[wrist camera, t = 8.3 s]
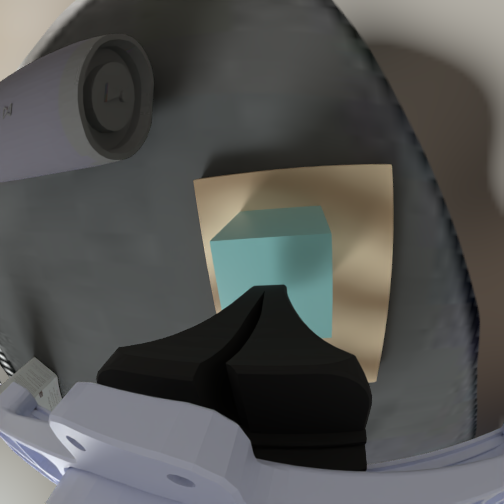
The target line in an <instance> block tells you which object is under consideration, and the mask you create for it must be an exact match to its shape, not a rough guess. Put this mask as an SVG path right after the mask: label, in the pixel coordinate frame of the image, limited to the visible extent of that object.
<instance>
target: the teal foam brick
mask: <svg viewBox="0 0 504 504" xmlns="http://www.w3.org/2000/svg"><path fill="white" fill-rule="evenodd" d="M210 247H211V253H212V259H213V265H214V271H215V276H216V282H217V287H218V293H219V298H220V304H221V309H222V310H223V309H224V308H226V307H227V306H229V305H230V304H231V303H233V302H234V301H235V300H236V299H238V298H239V297H240V296H241V295H243V294H244V293H245V292H246V291H247V290H249V289H250V288H251V287H253V286H258V285H283V284H284V285H285V286H286V287H287V294H288V297H289V299H290V301H291V303H292V305H293V307H294V309H295V311H296V312H297V314H298V315H299V316H300V318H301V319H302V320H303V322H304V323H305V324H306V325H307V326H308V327H309V328H310V329H311V330H312V331H313V332H314V333H315V334H316V335H318V336H319V337H320V338H332V303H333V271H332V233H331V231H330V228H329V225H328V223H327V220H326V218H325V215H324V213H323V210H322V207H321V206H305V207H291V208H277V209H264V210H252V211H240V212H239V213H238V214H237V215H236V216H235V217H234V218H233V219H232V220H231V221H230V222H229V223H228V224H227V225H226V226H225V227H224V228H223V229H222V230H221V231H220V232H219V233H218V234H216V235H215V236H214V237H213V238H212V239H211V240H210Z"/></svg>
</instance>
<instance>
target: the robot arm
mask: <svg viewBox="0 0 504 504" xmlns="http://www.w3.org/2000/svg"><path fill="white" fill-rule="evenodd" d="M96 379H97V383H92V382H77V383H76V384H75V385H74V386H73V387H72V388H71V390H70V391H69V392H68V393H67V394H66V395H65V397H64V398H63V399H62V400H61V401H60V402H59V404H58V405H57V406H56V407H55V408H54V410H53V411H52V412H51V411H49V410H47V409H45V408H44V407H42V406H40V405H38V404H37V401H36V400H35V398H34V397H33V395H32V394H31V393H30V392H29V391H28V390H27V389H26V388H25V387H23V386H21V385H19V384H17V383H16V382H12V383H11V384H10V385H9V386H8V387H7V388H6V389H5V390H4V391H3V392H2V393H1V394H0V437H1V438H2V439H3V440H4V442H5V443H6V444H7V445H8V446H9V447H10V448H11V449H12V450H13V451H14V452H15V453H16V454H17V455H18V456H19V457H20V458H22V459H23V460H24V461H26V462H27V463H28V464H29V465H30V466H32V467H33V468H34V469H36V470H37V471H38V472H40V473H41V474H42V475H43V476H45V477H46V478H48V479H49V480H50V481H52V482H54V483H55V484H56V485H57V486H56V488H55V489H54V491H53V492H52V494H51V495H50V497H49V498H48V500H47V501H46V503H45V504H504V423H503V425H502V427H501V428H499V429H497V430H494V431H492V432H490V433H487V434H484V435H482V436H479V437H477V438H474V439H471V440H469V441H466V442H463V443H460V444H457V445H454V446H451V447H447V448H444V449H440V450H437V451H433V452H430V453H426V454H422V455H417V456H413V457H408V458H404V459H399V460H393V461H388V462H382V463H375V464H368V465H367V462H366V451H365V444H366V439H367V438H366V430H365V427H366V424H367V420H368V417H369V413H370V409H371V405H372V394H371V389H370V386H369V383H368V380H367V378H366V375H365V373H364V371H363V369H362V367H361V365H360V363H359V361H358V359H357V358H356V356H355V355H353V354H351V353H349V352H346V351H344V350H341V349H339V348H337V347H335V346H333V345H331V344H329V343H328V342H326V341H324V340H323V339H322V338H320V337H319V336H318V335H316V334H315V333H314V332H313V331H312V330H311V329H310V328H309V327H308V326H307V325H306V324H305V323H304V322H303V320H302V319H301V318H300V316H299V315H298V314H297V312H296V311H295V309H294V307H293V305H292V303H291V301H290V299H289V297H288V294H287V287H286V286H285V285H284V284H283V285H258V286H253V287H251V288H250V289H249V290H247V291H246V292H245V293H244V294H243V295H241V296H240V297H239V298H238V299H236V300H235V301H234V302H233V303H231V304H230V305H229V306H227V307H226V308H224V309H223V310H221V311H220V312H219V313H217V314H216V315H214V316H212V317H211V318H209V319H207V320H206V321H204V322H202V323H200V324H198V325H196V326H194V327H192V328H189V329H187V330H185V331H182V332H180V333H177V334H175V335H172V336H169V337H166V338H163V339H159V340H155V341H152V342H147V343H143V344H137V345H131V346H125V347H119V348H118V349H117V350H116V351H115V352H114V353H113V355H112V356H111V357H110V358H109V359H108V361H107V362H106V363H105V364H104V365H103V366H102V368H101V369H100V370H99V371H98V374H97V378H96Z"/></svg>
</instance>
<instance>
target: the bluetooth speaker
mask: <svg viewBox="0 0 504 504" xmlns="http://www.w3.org/2000/svg"><path fill="white" fill-rule="evenodd" d="M153 91H154V77H153V71H152V67H151V64H150V61H149V59H148V56H147V54H146V52H145V51H144V49H143V47H142V46H141V45H140V44H139V42H138V41H137V40H135V39H134V38H133V37H131V36H128V35H125V34H107V35H103V36H98V37H93V38H90V39H86V40H83V41H80V42H76V43H74V44H71V45H69V46H66V47H64V48H61V49H59V50H57V51H54V52H52V53H50V54H48V55H46V56H43V57H41V58H39V59H37V60H35V61H34V62H32V63H30V64H28V65H26V66H24V67H23V68H21V69H19V70H18V71H16V72H14V73H13V74H11V75H10V76H8V77H7V78H5V79H4V80H2V81H1V82H0V182H6V181H13V180H19V179H25V178H31V177H37V176H42V175H48V174H54V173H59V172H65V171H71V170H77V169H83V168H89V167H94V166H100V165H103V164H107V163H112V162H116V161H120V160H123V159H127V158H129V157H131V156H132V155H134V154H135V153H136V152H137V151H138V150H139V149H140V148H141V146H142V145H143V143H144V142H145V140H146V138H147V136H148V133H149V131H150V127H151V123H152V107H153Z"/></svg>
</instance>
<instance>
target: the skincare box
mask: <svg viewBox="0 0 504 504" xmlns="http://www.w3.org/2000/svg"><path fill="white" fill-rule="evenodd" d="M12 382H16V383H17V384H19V385H21V386H23V387H25V388H26V389H27V390H28V391H29V392H30V393H31V394H32V395H33V397H34V398H35V400H36V401H37V404H38V405H40V406H42V407H44V408H45V409H47V410H49V411H51V412H52V411H53V410H54V408H55V407H56V406H57V405H58V404H59V402H60V401H61V400H62V397H61V394H60V389H59V385H58V377H57V375H56V374H55V373H54V372H52V371H51V370H50V369H49V368H47V367H46V366H45V365H44V364H43V363H41V362H40V361H39V360H38V359H37V358H36V357H34V358H32V359H31V360H30V361H29V362H28V363H27V364H25V365H24V366H23V367H22V368H21V369H20V370H18V371H17V372H16V373H15V374H14V375H13V376H11V377H10V378H9V379H8V380H7V381H6V382H5V383H3V384H2V385H1V386H0V394H1V393H2V392H3V391H4V390H5V389H6V388H7V387H8V386H9V385H10V384H11V383H12Z"/></svg>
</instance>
